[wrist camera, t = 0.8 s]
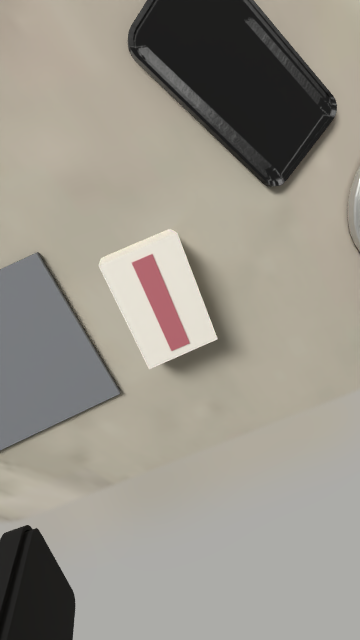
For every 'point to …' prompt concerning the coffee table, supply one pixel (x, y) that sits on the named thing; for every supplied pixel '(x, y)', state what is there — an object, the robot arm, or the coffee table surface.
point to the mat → (43, 355)
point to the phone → (235, 79)
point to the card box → (158, 297)
